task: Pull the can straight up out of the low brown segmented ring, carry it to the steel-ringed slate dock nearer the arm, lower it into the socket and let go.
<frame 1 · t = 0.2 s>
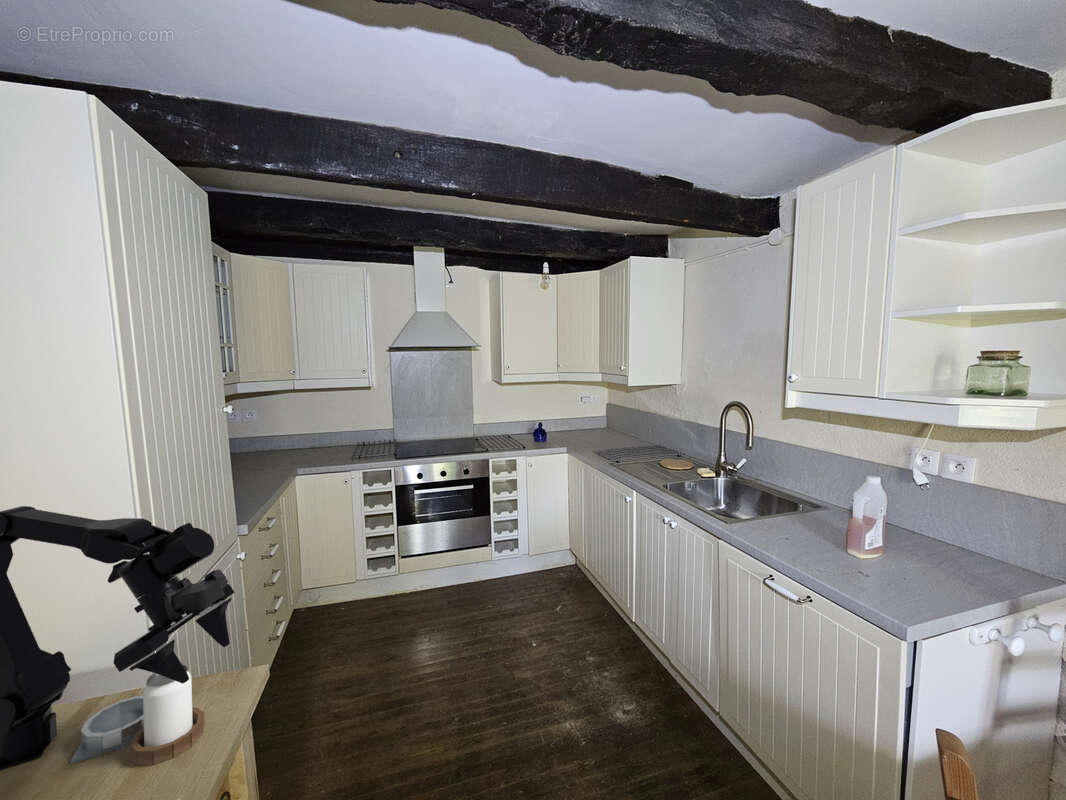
hand: (207, 662, 74), 15 cm above the table, tool tilted 30°, fingers open, 9 cm apart
can: (169, 742, 75), resting in brown segmented ring
dock: (121, 730, 78), on the table
brown segmented ring: (169, 741, 75), on the table
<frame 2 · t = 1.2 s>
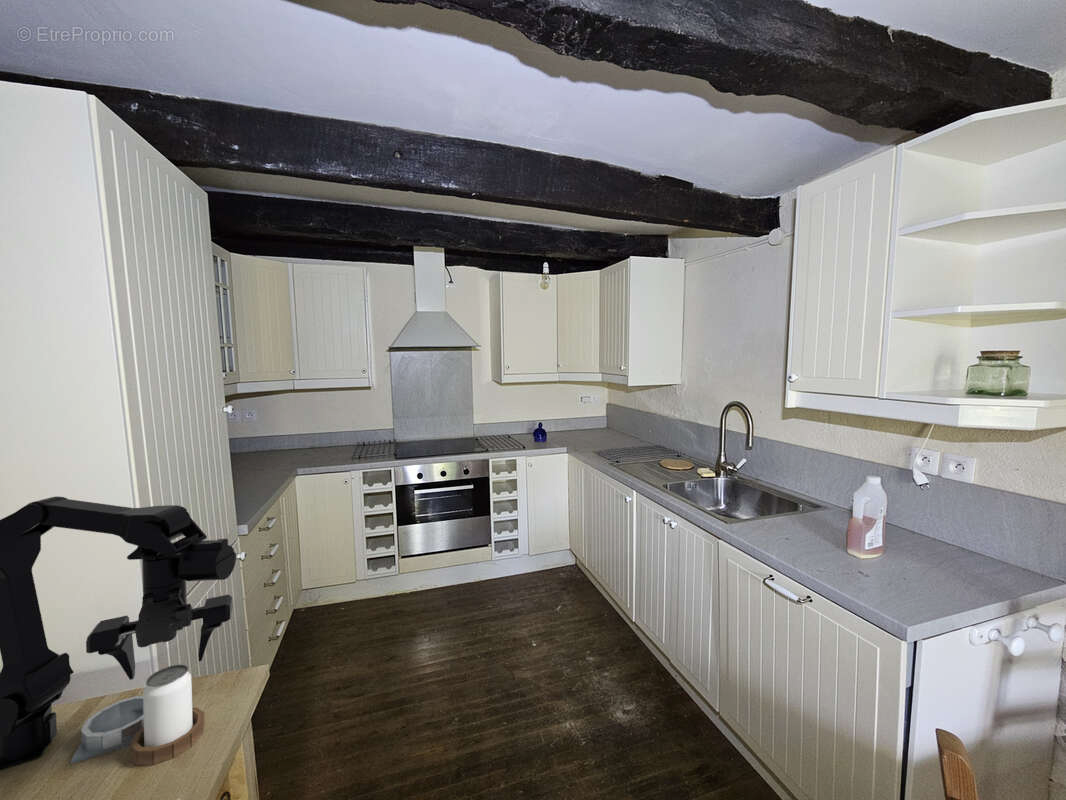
hand: (167, 668, 75), 13 cm above the table, tool pointing down, fingers open, 9 cm apart
nothing on the table moved.
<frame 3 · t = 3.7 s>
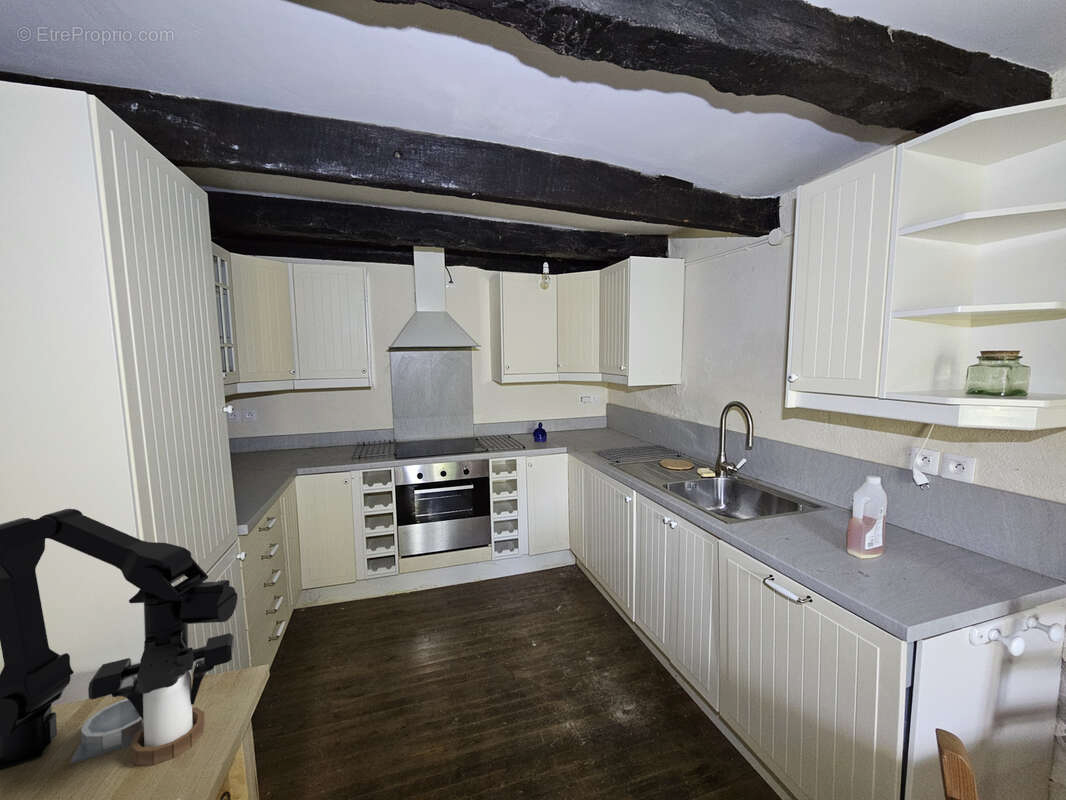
hand: (169, 710, 75), 6 cm above the table, tool pointing down, fingers closed on can, 6 cm apart
can: (169, 742, 75), resting in brown segmented ring, touching gripper
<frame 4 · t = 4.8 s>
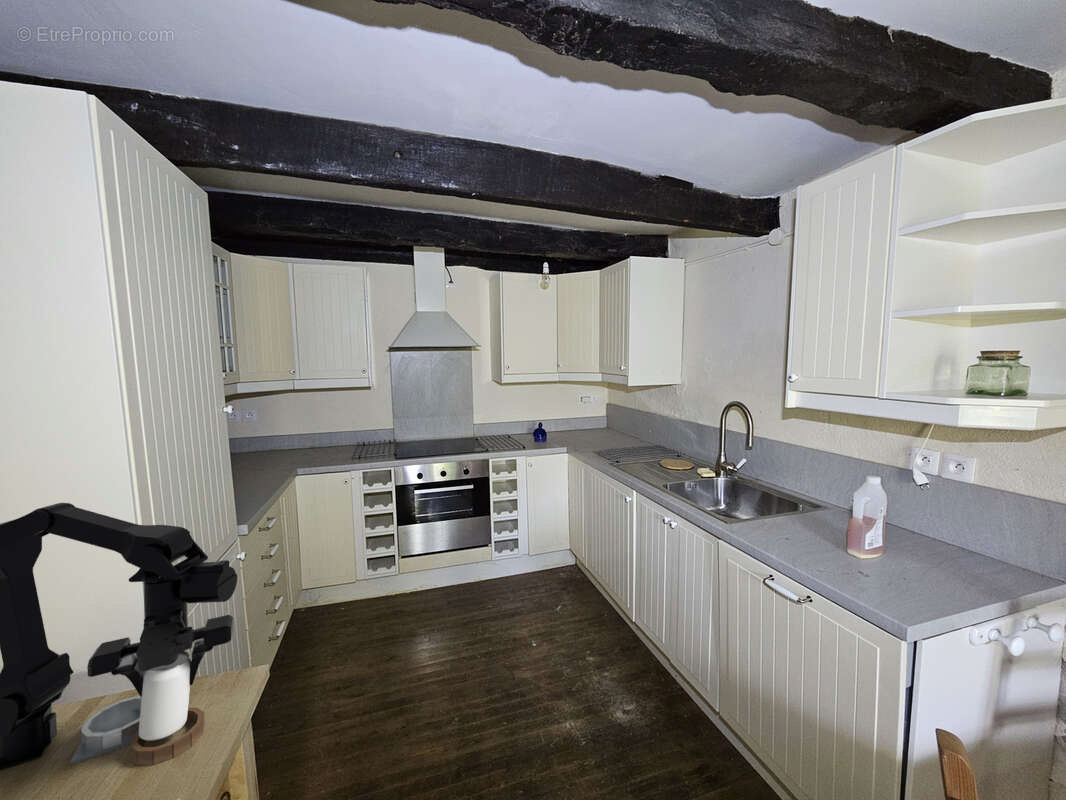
hand: (168, 690, 75), 9 cm above the table, tool pointing down, fingers closed on can, 6 cm apart
can: (163, 728, 75), point 2 cm above the table, touching gripper
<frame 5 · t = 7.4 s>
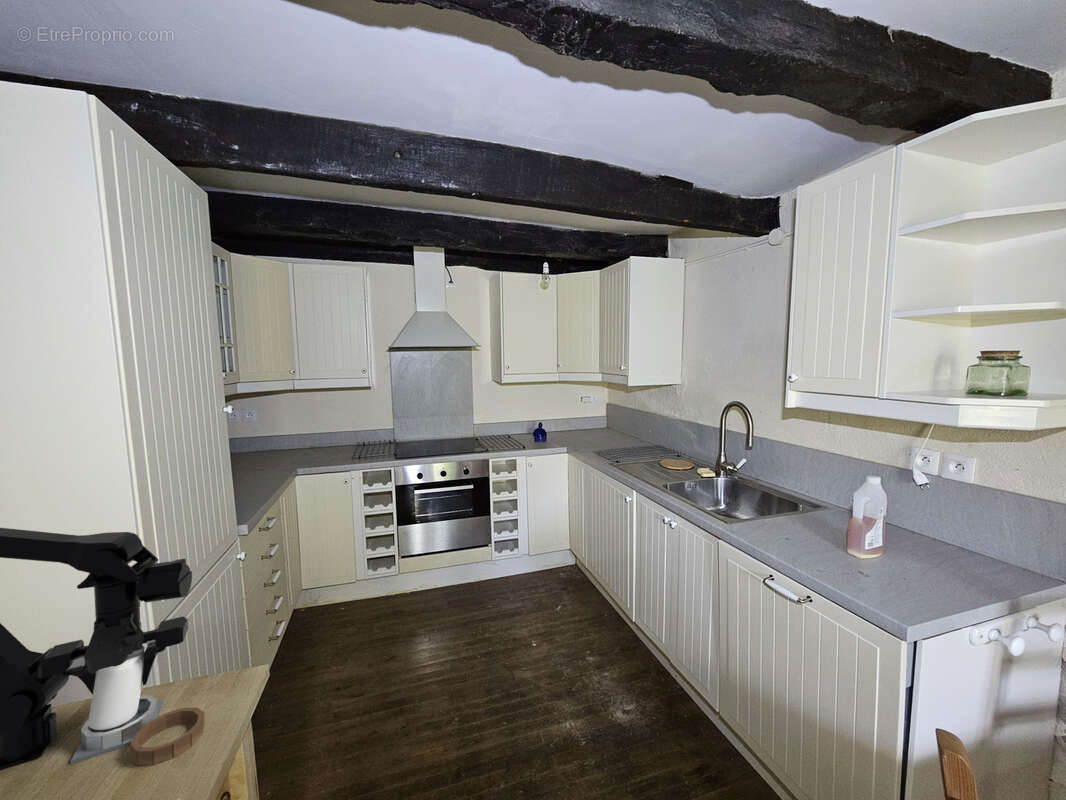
hand: (121, 690, 78), 7 cm above the table, tool pointing down, fingers closed on can, 6 cm apart
can: (113, 719, 77), point 2 cm above the table, touching dock, gripper
when the fingers open (7 cm above the table, at t = 8.2 s): can stays where it is, resting on dock.
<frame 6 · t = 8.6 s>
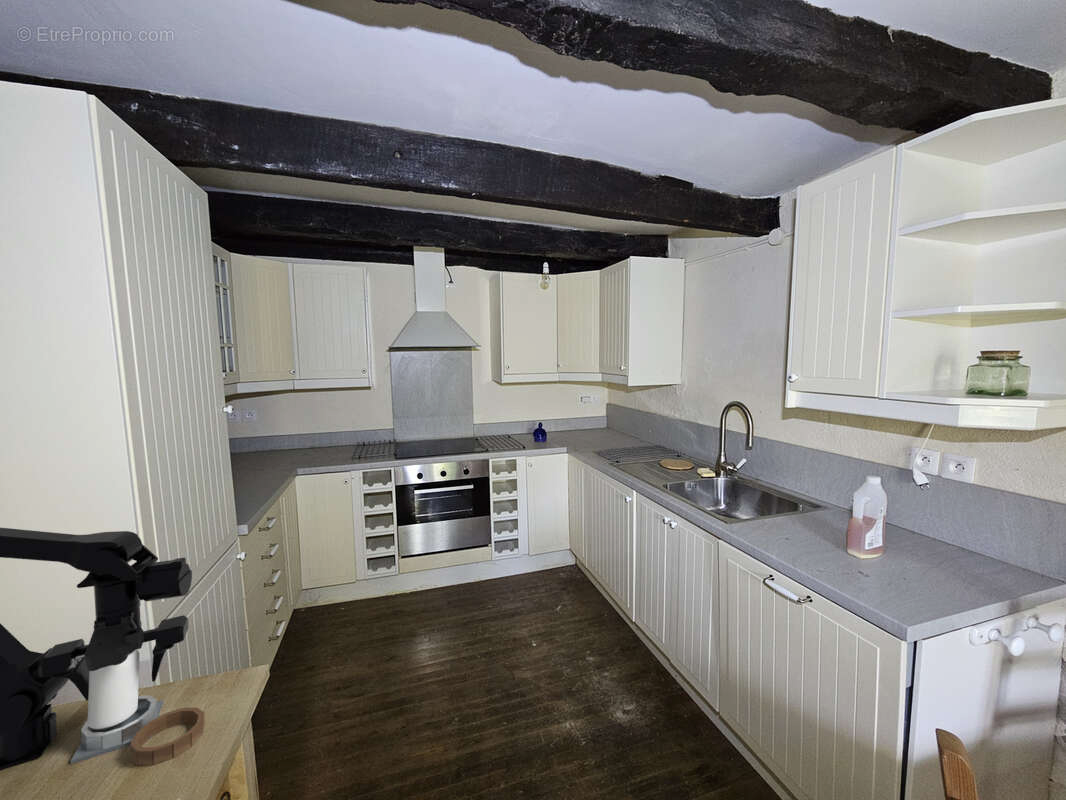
hand: (122, 689, 78), 8 cm above the table, tool pointing down, fingers open, 8 cm apart
can: (113, 717, 77), point 3 cm above the table, touching dock, gripper
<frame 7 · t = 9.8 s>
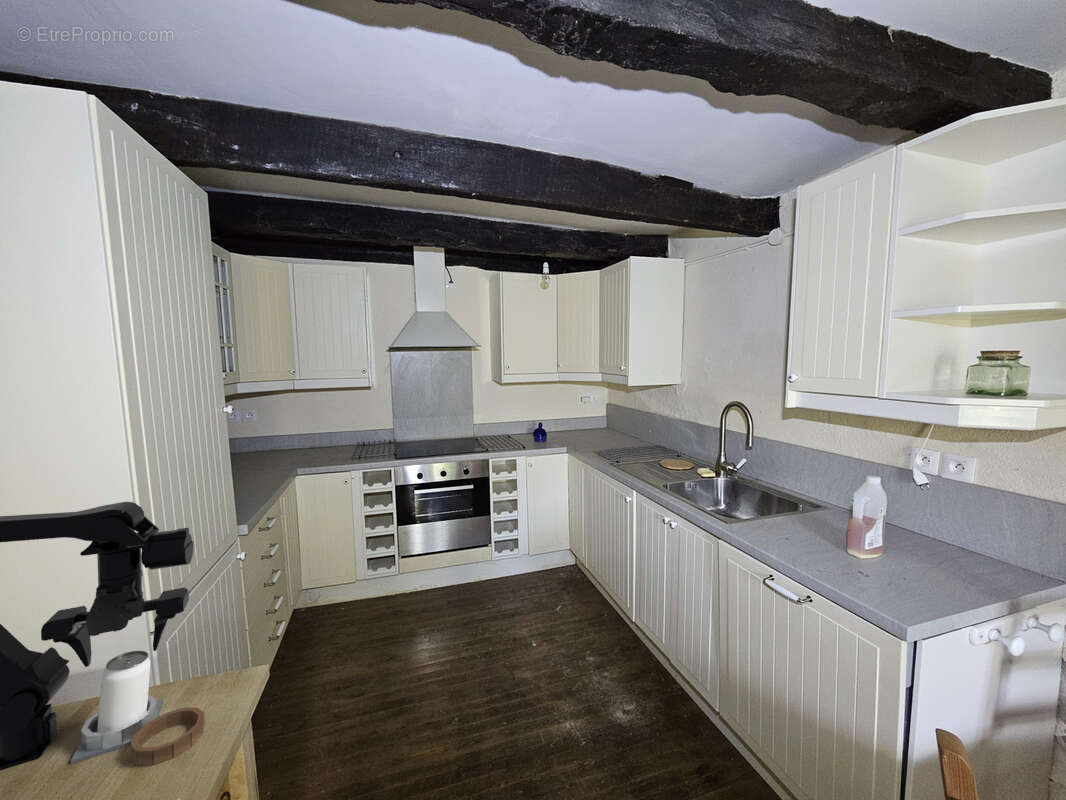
hand: (122, 657, 79), 13 cm above the table, tool pointing down, fingers open, 9 cm apart
can: (122, 725, 78), point 1 cm above the table, touching dock
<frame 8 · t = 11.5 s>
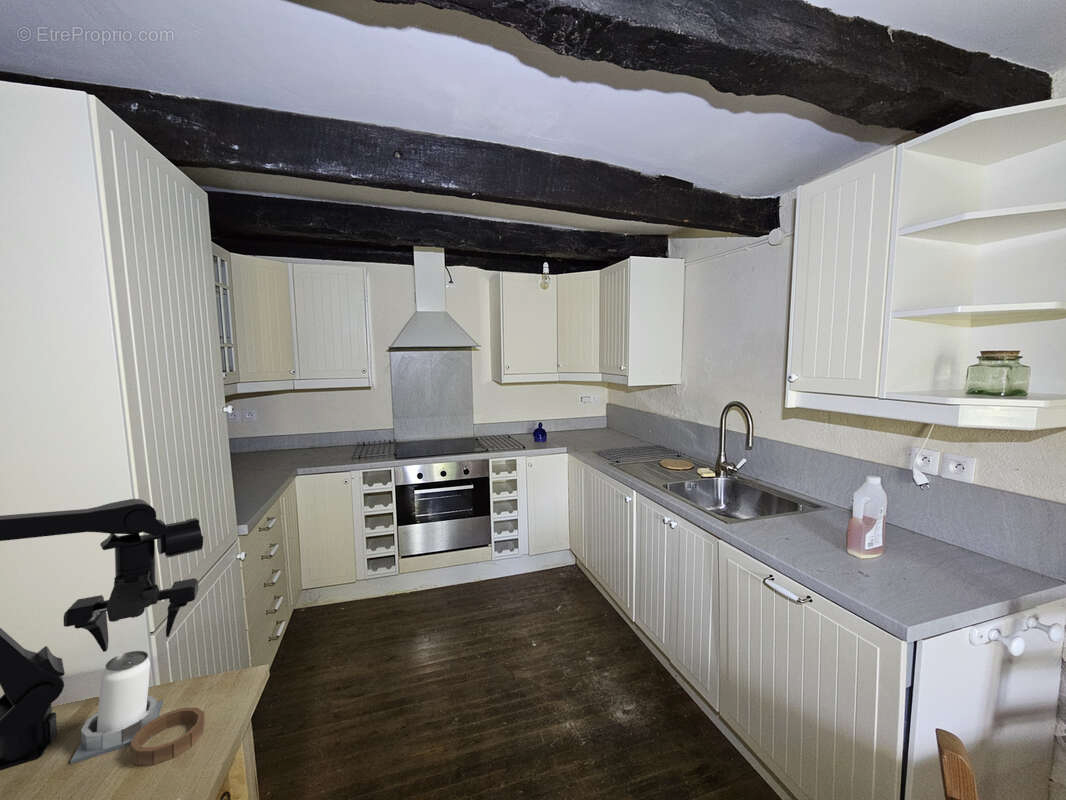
hand: (137, 643, 84), 12 cm above the table, tool pointing down, fingers open, 9 cm apart
nothing on the table moved.
at the end: can 0.2 cm off-centre on the dock, point 0.6 cm above the dock's base; can tilted 4°; the gripper is holding nothing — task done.
